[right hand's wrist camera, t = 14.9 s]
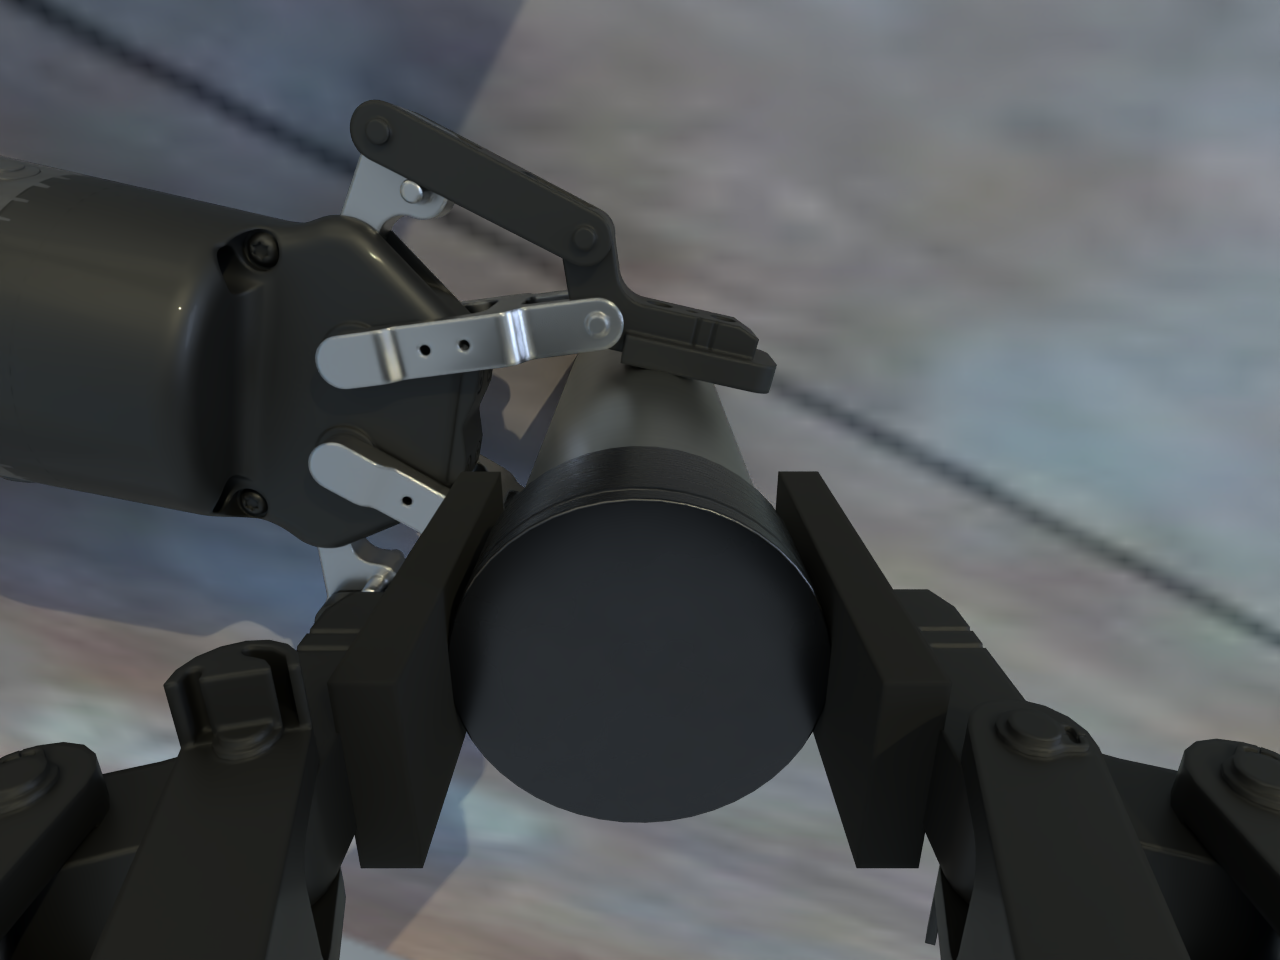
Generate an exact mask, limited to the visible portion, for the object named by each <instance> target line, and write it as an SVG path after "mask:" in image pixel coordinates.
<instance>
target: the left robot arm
mask: <svg viewBox="0 0 1280 960" xmlns="http://www.w3.org/2000/svg"><path fill="white" fill-rule="evenodd" d="M350 133H351V137H352V141H353V143H354V145H355V146H356V148H357V150H358V151H359V152H360V153H361V154H360V157H359V160H358V163H357V166H356V169H355V172H354V175H353V178H352V181H351V184H350V187H349V191H348V194H347V197H346V200H345V203H344V206H343V209H342V212H341V215H330V216H325V217H322V218H319V219H316V220H313V221H310V222H306V223H299V222H291V221H286V220H282V219H277V218H273V217H268V216H264V215H260V214H255V213H251V212H246V211H242V210H238V209H233V208H229V207H224V206H220V205H216V204H211V203H207V202H202V201H198V200H194V199H189V198H185V197H180V196H176V195H172V194H167V193H163V192H159V191H154V190H150V189H145V188H141V187H136V186H132V185H127V184H123V183H119V182H114V181H110V180H106V179H101V178H97V177H92V176H88V175H83V174H79V173H74V172H70V171H66V170H61V169H57V168H52V167H48V166H44V165H39V164H35V163H31V162H26V161H22V160H17V159H13V158H9V157H4V156H0V477H2V478H4V479H7V480H11V481H18V482H29V483H41V484H46V485H51V486H56V487H62V488H67V489H72V490H77V491H82V492H88V493H93V494H98V495H103V496H108V497H113V498H118V499H123V500H129V501H134V502H139V503H144V504H149V505H154V506H159V507H164V508H169V509H175V510H180V511H185V512H190V513H195V514H200V515H207V516H221V517H250V518H259V519H264V520H267V521H270V522H272V523H274V524H276V525H278V526H280V527H282V528H284V529H285V530H287V531H289V532H290V533H292V534H293V535H294V536H296V537H297V538H298V539H300V540H301V541H303V542H305V543H307V544H310V545H312V546H316V547H318V552H319V557H320V562H321V567H322V572H323V577H324V582H325V587H326V592H327V600H326V602H325V604H324V605H323V606H322V608H321V609H320V610H319V612H318V613H317V614H316V617H315V622H316V621H317V620H318V618H319V617H320V616H321V614H322V613H323V612H324V610H325V609H326V608H328V607H329V606H331V605H332V604H334V603H335V602H337V601H339V600H340V599H342V598H343V597H345V596H346V595H348V594H349V593H351V592H385V591H386V589H387V587H388V586H389V584H390V583H391V581H392V580H393V578H394V576H395V575H396V573H397V572H398V570H399V569H400V567H401V565H402V564H403V562H404V561H405V557H404V554H403V553H402V552H401V551H400V550H396V549H394V550H388V549H381V548H378V547H376V546H374V545H372V544H371V543H370V542H369V541H368V540H367V539H366V537H368V536H370V535H373V534H375V533H378V532H380V531H382V530H385V529H387V528H390V527H392V526H394V525H397V524H399V523H403V524H404V525H406V526H408V527H410V528H412V529H414V530H416V531H417V532H419V533H421V534H422V533H423V531H424V529H425V528H426V526H427V525H428V523H429V522H430V520H431V518H432V517H433V515H434V514H435V512H436V511H437V509H438V507H439V506H440V504H441V503H442V501H443V500H444V498H445V496H446V495H447V493H448V492H449V490H450V489H451V487H452V485H453V484H454V482H455V481H456V479H457V478H458V476H459V474H460V473H461V472H501V481H502V494H503V508H504V509H505V508H506V507H507V506H508V505H509V503H510V502H511V501H512V500H513V498H514V497H515V496H517V495H518V494H519V493H520V492H521V491H522V490H523V489H524V487H523V486H521V485H520V484H519V483H518V482H517V481H516V479H515V477H514V476H513V475H512V474H511V473H510V472H509V471H508V470H506V469H505V468H503V467H501V466H500V465H498V464H496V463H494V462H493V461H491V460H489V459H487V458H486V457H484V456H482V455H480V448H481V442H482V427H481V419H480V411H479V405H480V403H481V400H482V398H483V396H484V394H485V392H486V389H487V387H488V385H489V383H490V381H491V376H492V370H493V368H501V367H508V366H513V365H517V364H520V363H523V362H526V361H528V360H532V359H538V358H546V357H554V356H562V355H570V354H578V353H586V352H593V351H601V350H606V349H610V350H614V351H619V352H622V353H621V362H620V363H622V364H627V365H631V366H636V367H640V368H645V369H649V370H655V371H661V372H665V373H669V374H673V375H677V376H681V377H686V378H690V379H695V380H700V381H704V382H709V383H713V384H718V385H722V386H727V387H731V388H736V389H741V390H745V391H750V392H754V393H762V394H765V393H769V390H770V386H771V383H772V380H773V376H774V373H775V369H776V366H777V365H776V363H775V362H774V361H773V359H772V358H771V357H770V356H769V354H768V353H766V352H764V351H761V350H758V349H756V348H757V344H758V341H759V339H758V338H757V337H756V335H755V334H754V333H753V332H752V331H751V329H749V328H748V327H746V326H745V325H744V324H742V323H741V322H739V321H738V320H737V319H735V318H734V317H730V316H725V315H721V314H717V313H711V312H708V311H703V310H699V309H694V308H690V307H686V306H681V305H677V304H673V303H668V302H664V301H659V300H655V299H651V298H646V297H642V296H639V295H637V294H635V293H634V292H633V291H631V290H630V289H629V288H628V287H627V286H626V284H625V283H624V281H623V279H622V277H621V274H620V269H619V262H618V254H617V247H616V240H615V227H614V224H613V222H612V220H611V218H610V217H609V215H608V214H607V213H605V212H604V211H602V210H601V209H599V208H597V207H595V206H593V205H591V204H589V203H587V202H586V201H584V200H582V199H580V198H578V197H576V196H574V195H572V194H570V193H568V192H567V191H565V190H563V189H561V188H559V187H557V186H555V185H553V184H551V183H549V182H548V181H546V180H544V179H542V178H540V177H538V176H536V175H534V174H532V173H530V172H529V171H527V170H525V169H523V168H521V167H519V166H517V165H515V164H513V163H511V162H510V161H508V160H506V159H504V158H502V157H500V156H498V155H496V154H494V153H493V152H491V151H489V150H487V149H485V148H483V147H481V146H479V145H477V144H475V143H474V142H472V141H470V140H468V139H466V138H464V137H462V136H460V135H458V134H456V133H455V132H453V131H451V130H449V129H447V128H445V127H443V126H441V125H439V124H437V123H436V122H434V121H432V120H430V119H428V118H426V117H424V116H422V115H420V114H418V113H415V112H413V111H410V110H407V109H404V108H401V107H399V106H396V105H393V104H390V103H387V102H385V101H381V100H369V101H366V102H364V103H362V104H361V105H360V106H358V107H357V108H356V110H355V111H354V113H353V115H352V118H351V122H350ZM454 204H457V205H459V206H461V207H463V208H465V209H467V210H469V211H471V212H473V213H475V214H477V215H479V216H481V217H483V218H485V219H487V220H489V221H491V222H493V223H495V224H497V225H498V226H500V227H502V228H504V229H506V230H508V231H510V232H512V233H514V234H516V235H518V236H520V237H522V238H524V239H526V240H528V241H530V242H532V243H534V244H536V245H538V246H540V247H542V248H544V249H546V250H547V251H549V252H551V253H553V254H555V255H557V256H559V257H561V258H563V263H564V270H565V276H566V282H567V288H568V290H562V291H555V292H547V293H539V294H530V293H527V294H516V295H508V296H501V297H493V298H486V299H478V300H470V301H463V302H459V300H458V299H457V298H456V297H455V296H454V295H453V294H452V293H451V292H450V291H449V290H448V289H447V288H446V287H445V286H444V285H443V284H442V283H441V282H440V281H439V280H438V279H437V277H436V276H435V275H434V274H433V273H432V272H431V271H430V270H429V269H428V268H427V267H426V266H425V265H424V264H423V263H422V262H421V261H420V260H419V259H418V258H417V257H416V255H415V254H414V253H413V252H412V251H411V250H410V249H409V248H408V247H407V246H406V245H405V244H404V243H403V242H402V241H401V240H400V239H399V238H398V237H397V236H396V235H395V234H394V232H393V231H392V230H391V229H392V227H393V225H394V224H395V222H396V221H397V220H398V219H400V218H401V217H403V216H410V217H413V218H416V219H421V220H426V219H434V218H440V217H442V216H445V215H446V214H448V213H449V212H450V211H451V209H452V208H453V206H454Z"/></svg>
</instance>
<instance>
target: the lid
mask: <svg viewBox="0 0 1280 960" xmlns="http://www.w3.org/2000/svg"><path fill="white" fill-rule="evenodd" d="M448 655H449V665H450V674H451V683H452V692H453V700H454V705H455V708H456V710H457V713H458V715H459V718H460V720H461V722H462V724H463V726H464V728H465V729H466V731H467V733H468V735H469V736H470V738H471V740H472V741H473V743H474V744H475V745H476V746H477V748H478V749H479V750H480V752H481V753H482V754H483V755H484V757H485V758H486V759H487V760H488V761H489V762H490V763H491V764H492V765H493V766H494V767H495V768H496V769H497V770H498V771H499V772H500V773H501V774H503V775H504V776H505V777H507V778H508V779H509V780H510V781H512V782H513V783H514V784H516V785H517V786H518V787H520V788H522V789H523V790H525V791H527V792H528V793H530V794H532V795H533V796H535V797H536V798H539V799H541V800H543V801H545V802H547V803H549V804H552V805H554V806H556V807H558V808H561V809H564V810H567V811H570V812H573V813H576V814H579V815H584V816H588V817H593V818H597V819H602V820H610V821H618V822H641V823H648V822H660V821H671V820H676V819H682V818H687V817H692V816H696V815H699V814H703V813H706V812H710V811H713V810H716V809H718V808H720V807H723V806H725V805H728V804H730V803H733V802H735V801H737V800H739V799H740V798H742V797H744V796H746V795H748V794H750V793H751V792H753V791H755V790H756V789H758V788H759V787H761V786H762V785H763V784H765V783H766V782H768V781H769V780H771V779H772V778H773V777H774V776H775V775H776V774H778V773H779V772H780V771H781V770H782V769H783V768H784V767H785V766H786V765H788V764H789V762H790V761H791V760H792V759H793V758H794V757H795V755H796V754H797V753H798V752H799V751H800V750H801V749H802V747H803V746H804V744H805V743H806V741H807V740H808V738H809V737H810V735H811V734H812V732H813V730H814V729H815V726H816V724H817V722H818V720H819V718H820V716H821V714H822V712H823V709H824V705H825V702H826V694H827V686H828V677H829V668H830V658H831V638H830V632H829V626H828V623H827V620H826V617H825V614H824V611H823V608H822V605H821V603H820V600H819V598H818V596H817V594H816V592H815V589H814V587H813V585H812V582H811V580H810V578H809V576H808V573H807V571H806V569H805V566H804V564H803V562H802V560H801V557H800V555H799V553H798V551H797V548H796V546H795V544H794V541H793V539H792V537H791V535H790V533H789V531H788V529H787V528H786V526H785V524H784V522H783V520H782V519H781V517H780V516H779V515H778V513H777V512H776V510H775V509H774V508H773V506H772V505H771V504H770V503H769V502H768V501H767V500H766V498H765V497H764V496H763V495H762V494H761V493H760V492H759V491H758V490H757V489H756V488H754V487H753V486H752V485H751V484H749V483H748V482H747V481H745V480H744V479H743V478H742V477H740V476H739V475H737V474H735V473H734V472H732V471H730V470H729V469H727V468H725V467H724V466H722V465H720V464H718V463H715V462H713V461H711V460H708V459H706V458H704V457H701V456H698V455H694V454H691V453H687V452H684V451H680V450H675V449H668V448H662V447H651V446H628V447H618V448H609V449H605V450H600V451H596V452H591V453H587V454H585V455H582V456H579V457H576V458H574V459H571V460H568V461H566V462H564V463H562V464H560V465H558V466H556V467H554V468H552V469H550V470H548V471H547V472H545V473H544V474H542V475H541V476H540V477H538V478H537V479H535V480H534V481H532V482H531V483H530V484H528V485H527V486H526V487H525V488H524V489H523V490H522V491H521V492H520V493H519V494H518V495H517V496H515V497H514V498H513V500H512V501H511V502H510V503H509V505H508V506H507V507H506V508H505V509H504V511H503V512H502V513H501V515H500V516H499V518H498V520H497V521H496V523H495V525H494V526H493V528H492V530H491V531H490V534H489V536H488V538H487V540H486V543H485V545H484V547H483V549H482V552H481V554H480V556H479V559H478V561H477V563H476V565H475V568H474V570H473V572H472V574H471V577H470V579H469V581H468V584H467V586H466V588H465V590H464V593H463V595H462V597H461V600H460V602H459V604H458V607H457V609H456V612H455V614H454V617H453V621H452V625H451V629H450V633H449V637H448Z"/></svg>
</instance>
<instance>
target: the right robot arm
mask: <svg viewBox="0 0 1280 960" xmlns="http://www.w3.org/2000/svg"><path fill="white" fill-rule="evenodd" d="M503 511H504V508H503V494H502V481H501V472H461V473H460V474H459V476H458V478H457V479H456V481H455V482H454V484H453V485H452V487H451V489H450V490H449V492H448V493H447V495H446V496H445V498H444V500H443V501H442V503H441V504H440V506H439V507H438V509H437V511H436V512H435V514H434V515H433V517H432V518H431V520H430V522H429V523H428V525H427V526H426V528H425V529H424V531H423V533H422V534H421V536H420V537H419V539H418V540H417V542H416V544H415V545H414V547H413V548H412V550H411V551H410V553H409V555H408V556H407V558H406V559H405V561H404V562H403V564H402V565H401V567H400V569H399V570H398V572H397V573H396V575H395V576H394V578H393V580H392V581H391V583H390V584H389V586H388V587H387V589H386V591H385V592H351V593H349V594H348V595H346V596H345V597H343V598H342V599H340V600H339V601H337V602H335V603H334V604H332V605H331V606H329V607H328V608H326V609H325V610H324V612H323V613H322V614H321V616H320V617H319V618H318V620H317V621H316V622H315V624H314V625H313V626H312V628H311V629H310V634H306V635H305V637H304V638H303V639H302V641H301V642H300V643H299V645H298V646H297V651H296V650H295V649H293V648H292V647H291V646H290V645H288V644H286V643H281V642H277V641H272V640H255V641H243V642H239V643H235V644H230V645H226V646H221V647H219V648H216V649H214V650H211V651H209V652H207V653H204V654H202V655H199V656H197V657H195V658H194V659H192V660H190V661H189V662H187V663H186V664H184V665H183V666H181V667H180V668H178V669H177V670H176V671H175V672H174V673H173V674H172V675H171V676H170V678H169V679H168V680H167V681H166V682H165V684H164V689H165V693H166V696H167V700H168V703H169V707H170V710H171V714H172V718H173V721H174V725H175V728H176V732H177V735H178V739H179V743H180V746H181V750H180V752H179V754H178V757H176V758H172V759H168V760H165V761H161V762H157V763H152V764H148V765H143V766H138V767H134V768H129V769H124V770H120V771H115V772H110V773H106V774H102V772H101V769H100V766H99V763H98V760H97V757H96V754H95V753H94V752H93V751H91V750H90V749H89V748H88V747H86V746H85V745H82V744H74V743H67V742H60V743H53V744H46V745H39V746H34V747H31V748H27V749H23V750H22V751H17V752H14V753H11V754H8V755H6V756H4V757H2V758H0V960H339V957H340V947H341V938H342V929H343V919H344V910H345V900H346V895H345V888H344V881H343V876H342V871H341V864H342V862H343V860H344V857H345V855H346V853H347V850H348V848H349V846H350V844H351V841H352V839H353V837H354V835H355V839H356V845H357V850H358V856H359V861H360V866H361V868H423V865H424V862H425V859H426V856H427V853H428V850H429V847H430V844H431V841H432V837H433V834H434V831H435V828H436V825H437V822H438V819H439V816H440V812H441V809H442V806H443V803H444V800H445V797H446V794H447V791H448V787H449V784H450V781H451V778H452V775H453V772H454V769H455V766H456V763H457V759H458V756H459V753H460V750H461V747H462V744H463V741H464V738H465V734H466V729H465V728H464V726H463V724H462V722H461V720H460V718H459V715H458V713H457V710H456V708H455V705H454V700H453V692H452V683H451V674H450V665H449V655H448V637H449V633H450V629H451V625H452V621H453V617H454V614H455V612H456V609H457V607H458V604H459V602H460V600H461V597H462V595H463V593H464V590H465V588H466V586H467V584H468V581H469V579H470V577H471V574H472V572H473V570H474V568H475V565H476V563H477V561H478V559H479V556H480V554H481V552H482V549H483V547H484V545H485V543H486V540H487V538H488V536H489V534H490V531H491V530H492V528H493V526H494V525H495V523H496V521H497V520H498V518H499V516H500V515H501V513H502V512H503ZM776 512H777V513H778V515H779V516H780V517H781V519H782V520H783V522H784V524H785V526H786V528H787V529H788V531H789V533H790V535H791V537H792V539H793V541H794V544H795V546H796V548H797V551H798V553H799V555H800V557H801V560H802V562H803V564H804V566H805V569H806V571H807V573H808V576H809V578H810V580H811V582H812V585H813V587H814V589H815V592H816V594H817V596H818V598H819V600H820V603H821V605H822V608H823V611H824V614H825V617H826V620H827V623H828V626H829V632H830V638H831V658H830V668H829V677H828V686H827V694H826V702H825V705H824V709H823V712H822V714H821V716H820V718H819V720H818V722H817V724H816V726H815V729H814V730H813V733H814V736H815V740H816V743H817V746H818V749H819V752H820V755H821V758H822V761H823V765H824V768H825V771H826V774H827V777H828V780H829V783H830V786H831V790H832V793H833V796H834V799H835V802H836V805H837V808H838V811H839V815H840V818H841V821H842V824H843V827H844V830H845V833H846V836H847V839H848V843H849V846H850V849H851V852H852V855H853V858H854V861H855V864H856V868H919V863H920V857H921V852H922V846H923V841H924V835H925V833H926V835H927V837H928V839H929V842H930V844H931V846H932V848H933V851H934V853H935V855H936V857H937V860H938V862H939V864H940V866H939V871H938V876H937V881H936V886H935V892H934V897H933V902H932V907H931V912H930V917H929V922H928V927H927V934H926V940H925V943H928V944H932V945H935V943H936V938H937V933H938V936H939V946H940V955H941V960H1280V755H1279V754H1278V753H1276V752H1273V751H1270V750H1268V749H1265V748H1262V747H1261V748H1260V747H1257V746H1256V745H1251V744H1247V743H1244V742H1237V741H1230V740H1222V739H1211V740H1203V741H1196V742H1195V743H1193V744H1192V745H1191V746H1190V747H1188V748H1187V749H1186V750H1185V751H1184V754H1183V757H1182V760H1181V763H1180V766H1179V769H1178V771H1175V770H1171V769H1166V768H1161V767H1157V766H1152V765H1147V764H1143V763H1138V762H1133V761H1128V760H1124V759H1119V758H1116V757H1112V756H1108V755H1105V754H1102V753H1101V751H1100V748H1099V747H1098V745H1097V744H1096V742H1095V741H1094V740H1093V738H1092V737H1091V736H1090V734H1089V733H1088V731H1086V730H1085V729H1084V728H1082V727H1081V726H1080V725H1078V724H1077V723H1076V722H1074V721H1073V720H1072V719H1070V718H1069V717H1068V716H1065V715H1063V714H1061V713H1059V712H1057V711H1055V710H1053V709H1051V708H1048V707H1046V706H1044V705H1040V704H1036V703H1032V702H1028V701H1026V700H1025V699H1024V698H1023V697H1022V695H1021V694H1020V693H1019V691H1018V690H1017V689H1016V687H1015V686H1014V685H1013V683H1012V682H1011V681H1010V679H1009V678H1008V677H1007V675H1006V674H1005V673H1004V671H1003V670H1002V669H1001V668H1000V666H999V665H998V664H997V662H996V661H995V660H994V658H993V657H992V656H991V654H990V653H989V652H988V650H987V649H986V648H983V646H982V642H981V641H980V640H979V639H978V637H977V636H976V635H975V633H974V632H973V631H970V627H969V625H968V624H967V623H966V621H965V620H964V619H963V617H962V616H961V615H960V613H959V612H958V611H957V610H956V608H955V607H954V606H952V605H951V604H949V603H948V602H946V601H945V600H943V599H942V598H940V597H939V596H937V595H936V594H934V593H933V592H931V591H930V590H928V589H892V587H891V585H890V584H889V582H888V581H887V579H886V578H885V576H884V574H883V573H882V571H881V570H880V568H879V567H878V565H877V563H876V562H875V560H874V559H873V557H872V556H871V554H870V552H869V551H868V549H867V548H866V546H865V545H864V543H863V541H862V540H861V538H860V537H859V535H858V534H857V532H856V531H855V529H854V527H853V526H852V524H851V523H850V521H849V520H848V518H847V516H846V515H845V513H844V512H843V510H842V509H841V507H840V505H839V504H838V502H837V501H836V499H835V498H834V496H833V494H832V493H831V491H830V490H829V488H828V487H827V485H826V483H825V482H824V480H823V479H822V477H821V476H820V474H819V472H778V485H777V499H776Z"/></svg>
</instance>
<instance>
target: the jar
mask: <svg viewBox="0 0 1280 960" xmlns="http://www.w3.org/2000/svg"><path fill="white" fill-rule="evenodd" d="M621 353H622V352H619V351H614V350H610V349H606V350H601V351H593V352H586V353H579V354H578V355H577V357H576V359H575V361H574V364H573V366H572V369H571V372H570V374H569V377H568V379H567V382H566V384H565V387H564V390H563V392H562V395H561V397H560V400H559V402H558V405H557V408H556V410H555V413H554V415H553V418H552V420H551V423H550V426H549V428H548V431H547V433H546V436H545V438H544V441H543V444H542V446H541V449H540V451H539V454H538V456H537V459H536V462H535V464H534V467H533V469H532V472H531V474H530V477H529V480H528V482H527V485H528V484H530V483H531V482H532V481H534V480H535V479H537V478H538V477H540V476H541V475H542V474H544V473H545V472H547V471H548V470H550V469H552V468H554V467H556V466H558V465H560V464H562V463H564V462H566V461H568V460H571V459H574V458H576V457H579V456H582V455H585V454H587V453H591V452H596V451H600V450H605V449H609V448H618V447H628V446H651V447H662V448H668V449H675V450H680V451H684V452H687V453H691V454H694V455H698V456H701V457H704V458H706V459H708V460H711V461H713V462H715V463H718V464H720V465H722V466H724V467H725V468H727V469H729V470H730V471H732V472H734V473H735V474H737V475H739V476H740V477H742V478H743V479H744V480H745V481H747V482H748V483H749V484H751V485H752V486H753V484H752V481H751V478H750V476H749V473H748V471H747V468H746V466H745V463H744V460H743V458H742V455H741V453H740V450H739V447H738V445H737V442H736V440H735V437H734V435H733V432H732V429H731V427H730V424H729V422H728V419H727V417H726V414H725V411H724V409H723V406H722V404H721V401H720V398H719V396H718V393H717V391H716V388H715V386H714V384H713V383H709V382H704V381H700V380H695V379H690V378H686V377H681V376H677V375H673V374H669V373H665V372H661V371H655V370H649V369H645V368H640V367H636V366H631V365H627V364H622V363H620V362H621ZM527 485H526V486H527ZM753 487H754V486H753Z"/></svg>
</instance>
